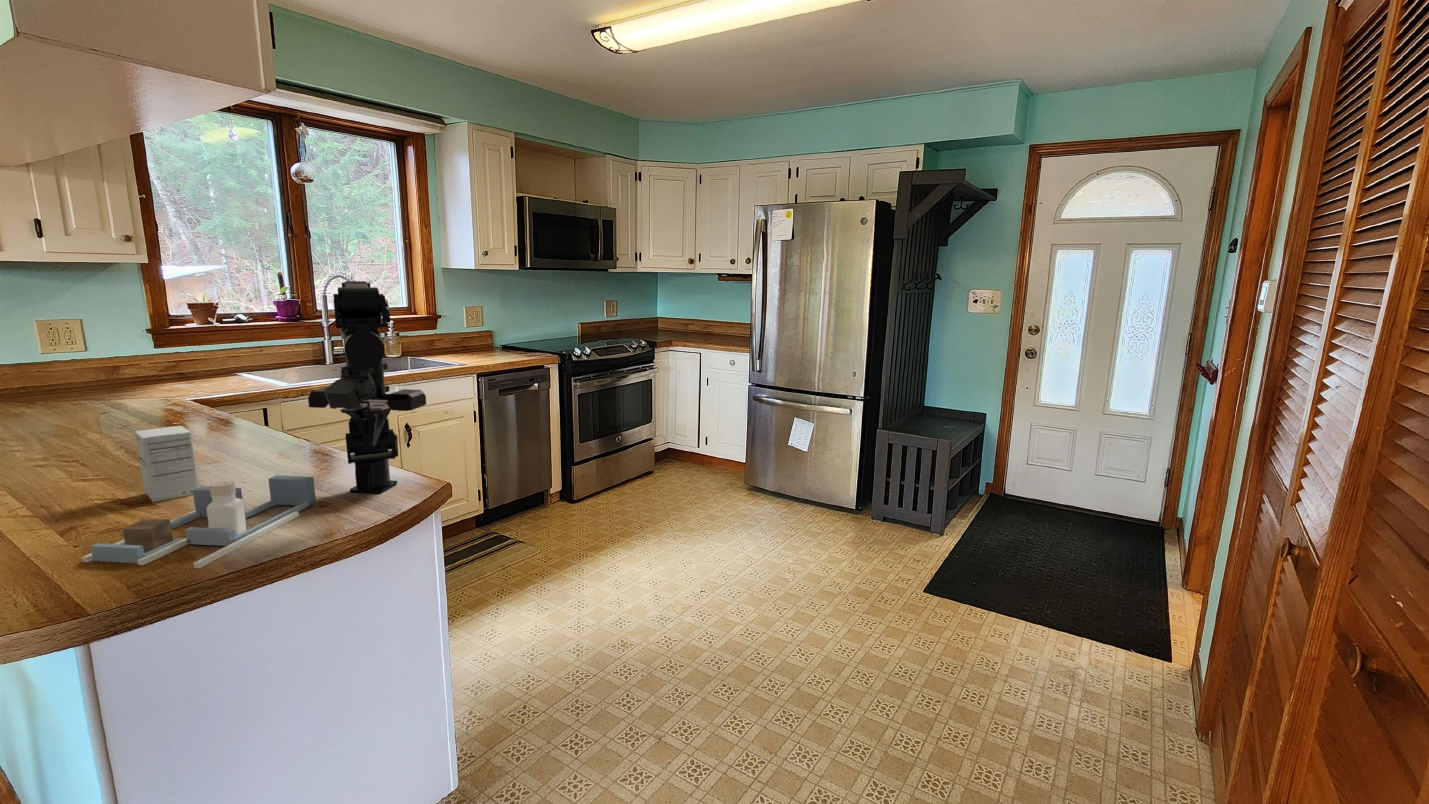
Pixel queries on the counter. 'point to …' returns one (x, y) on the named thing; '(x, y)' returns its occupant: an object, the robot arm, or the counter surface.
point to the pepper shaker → (226, 508)
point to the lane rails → (214, 555)
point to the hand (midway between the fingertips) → (372, 445)
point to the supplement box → (167, 462)
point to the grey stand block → (281, 493)
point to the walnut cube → (148, 533)
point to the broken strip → (136, 552)
